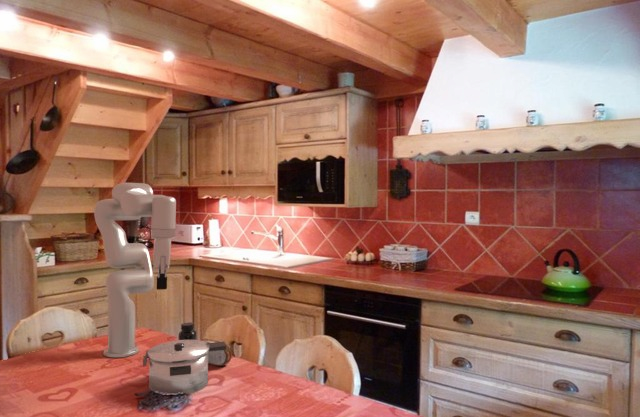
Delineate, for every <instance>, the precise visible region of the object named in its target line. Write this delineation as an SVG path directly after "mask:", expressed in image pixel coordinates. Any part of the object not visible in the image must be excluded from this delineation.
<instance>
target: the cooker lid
mask: <svg viewBox="0 0 640 417" xmlns="http://www.w3.org/2000/svg"><path fill="white" fill-rule="evenodd" d="M225 343H226V342H225V341H220V342H214V343H207V342H204V341H201V340H199V339H197V340H178V339H177V340H171V341H166V342H161V343H159V344H156V345H154V346H151V348H150V349H148V350H146V351H145V355H144V356H145V357H146V358H147V359H148V360H149V359H150V360H151V361H154V362H159V363H179V362H186V361H191V360H195V359H198V358H201V357H203V356H205V355H206V354H208V353H209V351H218V350H226V344H227V343H226V344H225Z"/></svg>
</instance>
